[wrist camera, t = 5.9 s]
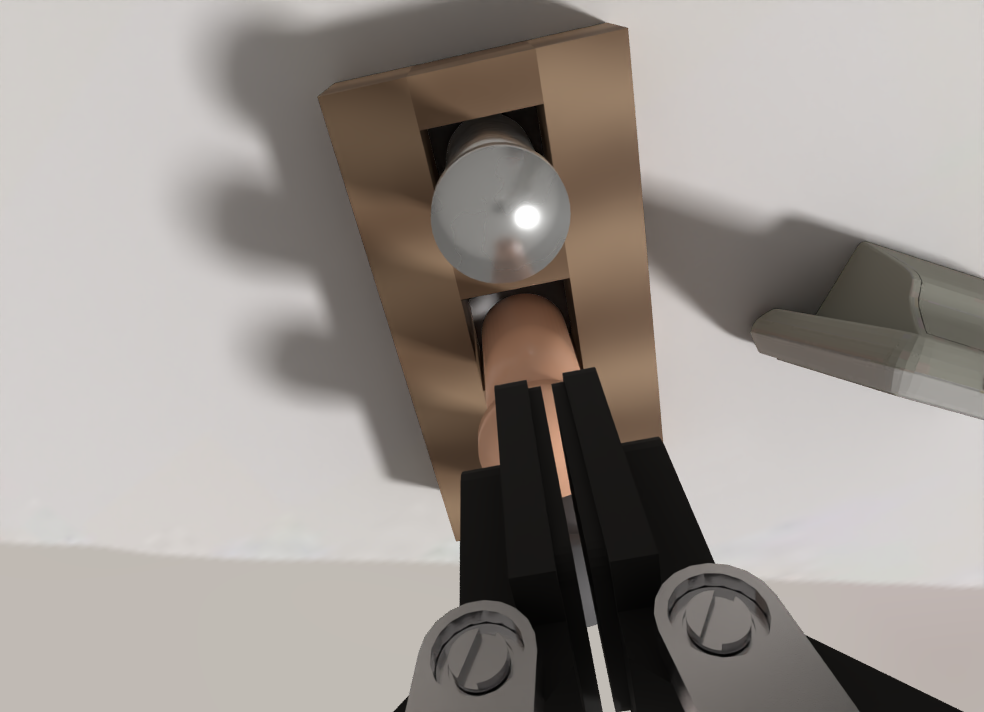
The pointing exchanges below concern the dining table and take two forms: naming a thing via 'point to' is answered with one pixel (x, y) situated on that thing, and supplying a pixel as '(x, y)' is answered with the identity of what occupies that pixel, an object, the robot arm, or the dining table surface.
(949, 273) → the digital clock
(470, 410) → the walnut block
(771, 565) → the dining table surface
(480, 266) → the grey peg
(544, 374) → the terracotta peg
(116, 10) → the dining table surface
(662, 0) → the dining table surface
